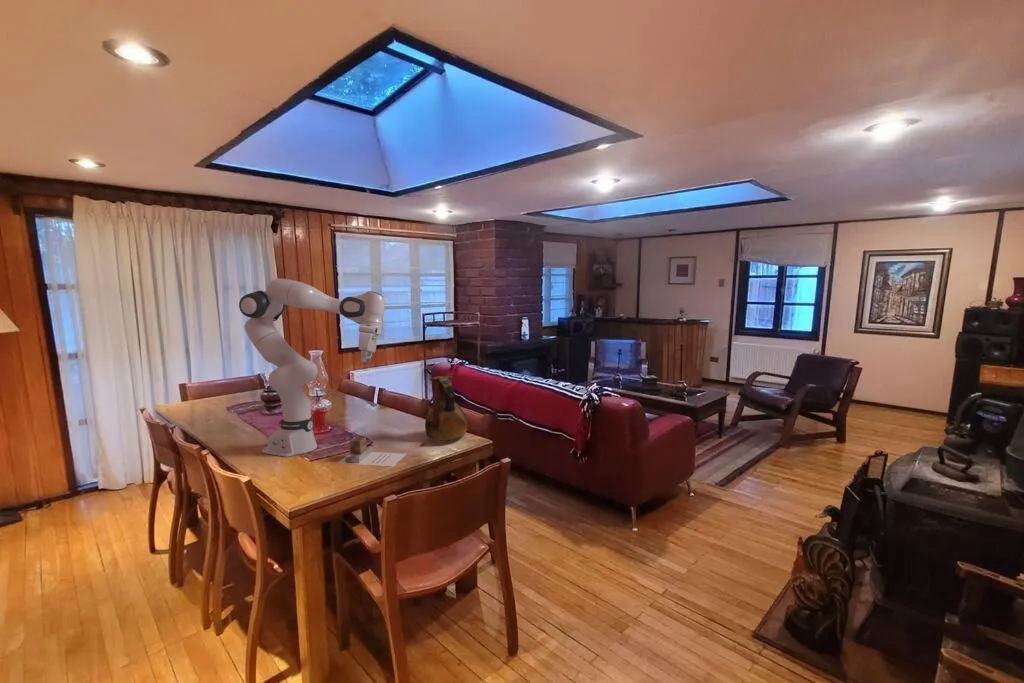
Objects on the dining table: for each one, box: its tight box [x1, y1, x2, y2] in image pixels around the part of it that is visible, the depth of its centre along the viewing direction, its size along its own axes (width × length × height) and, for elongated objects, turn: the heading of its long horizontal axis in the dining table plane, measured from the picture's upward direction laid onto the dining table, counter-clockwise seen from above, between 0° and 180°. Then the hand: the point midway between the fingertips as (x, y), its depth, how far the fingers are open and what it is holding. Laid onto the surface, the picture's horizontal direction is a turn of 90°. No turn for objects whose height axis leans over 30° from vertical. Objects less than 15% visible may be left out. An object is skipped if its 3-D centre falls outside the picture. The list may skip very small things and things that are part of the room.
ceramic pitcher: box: [424, 375, 468, 441], centre depth 207 cm, size 20×20×30 cm
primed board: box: [337, 451, 407, 467], centre depth 182 cm, size 24×13×2 cm, turn 81°
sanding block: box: [344, 436, 373, 463], centre depth 182 cm, size 6×11×8 cm, turn 171°
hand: (365, 362), depth 186 cm, fingers open, 8 cm apart
